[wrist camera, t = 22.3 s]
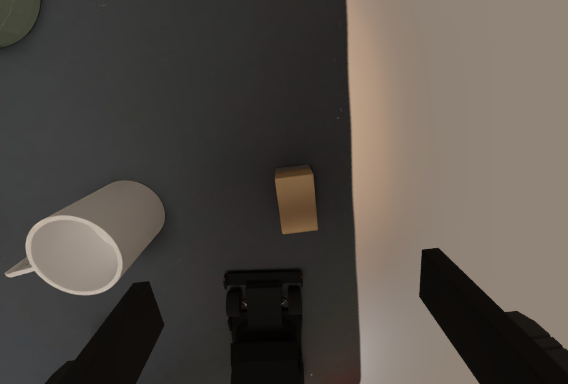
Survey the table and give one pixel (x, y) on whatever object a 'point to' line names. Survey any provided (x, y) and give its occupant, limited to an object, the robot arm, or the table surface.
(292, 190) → the eraser
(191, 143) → the table surface
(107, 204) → the cup
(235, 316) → the toy truck
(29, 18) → the bowl
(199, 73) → the table surface
